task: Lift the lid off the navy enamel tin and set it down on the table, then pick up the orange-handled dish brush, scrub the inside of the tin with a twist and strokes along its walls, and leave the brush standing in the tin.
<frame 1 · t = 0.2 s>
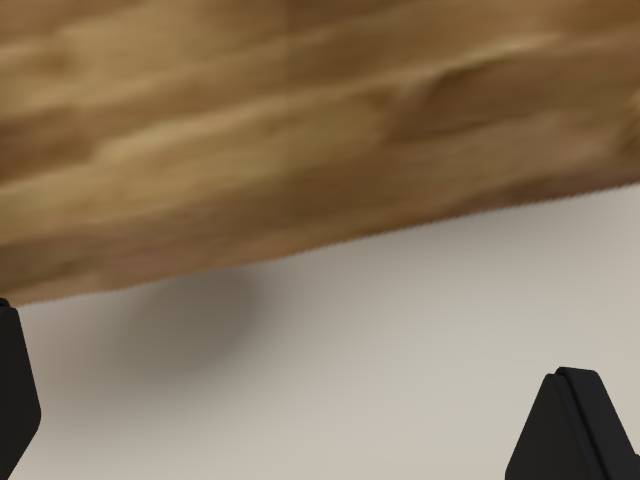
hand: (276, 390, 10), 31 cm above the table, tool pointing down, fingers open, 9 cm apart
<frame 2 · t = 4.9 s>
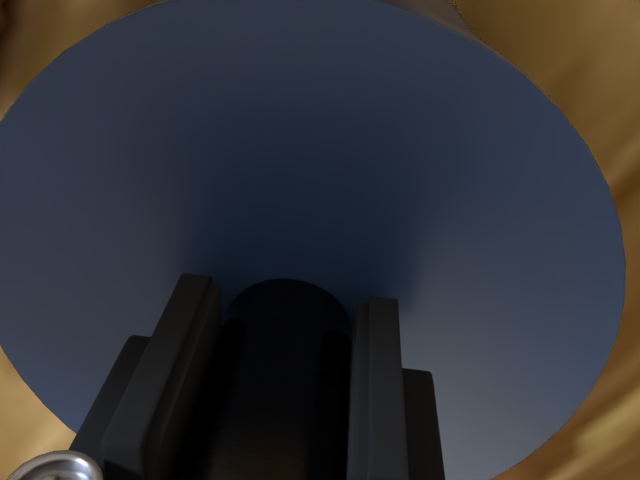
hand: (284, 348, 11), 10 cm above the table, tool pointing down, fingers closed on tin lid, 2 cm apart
tin lid: (292, 310, 12), point 9 cm above the table, touching gripper, tin
tin: (322, 145, 20), on the table
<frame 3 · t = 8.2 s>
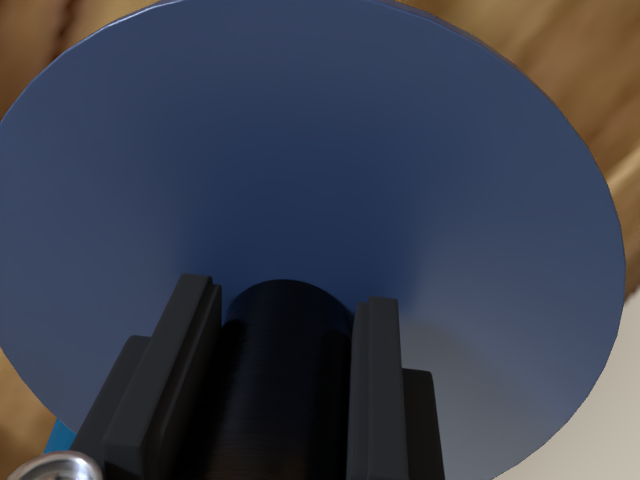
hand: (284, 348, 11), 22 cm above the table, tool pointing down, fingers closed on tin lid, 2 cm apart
tin lid: (292, 311, 12), point 20 cm above the table, touching gripper
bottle: (177, 305, 39), on the table
when the fingers open (2 cm above the table, at t = 11.9 s): tin lid stays where it is, point 1 cm above the table.
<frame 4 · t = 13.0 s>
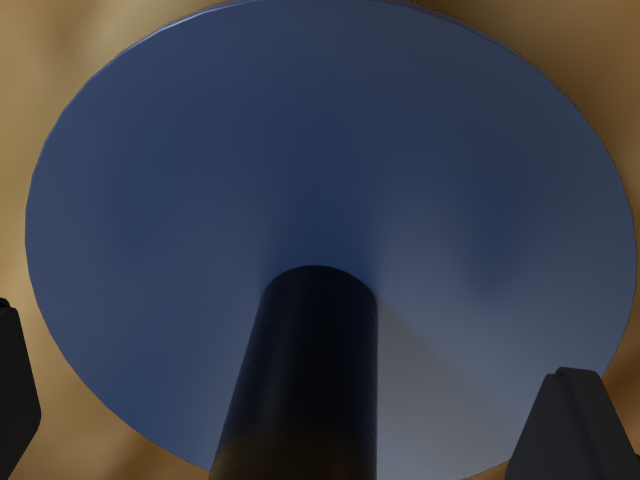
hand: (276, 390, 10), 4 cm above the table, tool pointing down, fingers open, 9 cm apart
tin lid: (321, 296, 13), point 1 cm above the table
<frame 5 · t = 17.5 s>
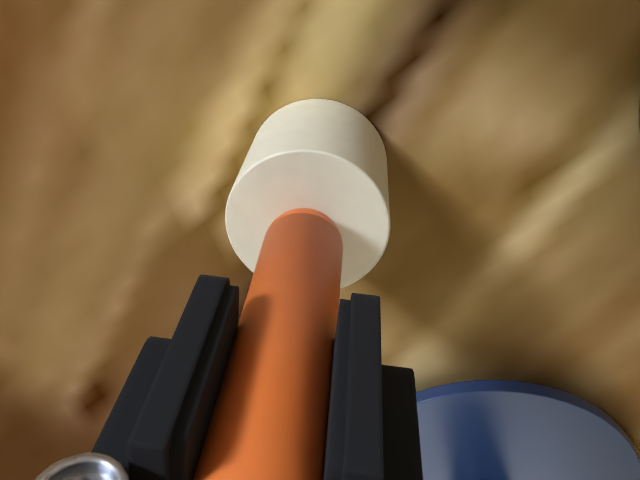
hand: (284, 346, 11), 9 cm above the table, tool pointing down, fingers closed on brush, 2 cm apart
brush: (318, 164, 19), on the table, touching gripper
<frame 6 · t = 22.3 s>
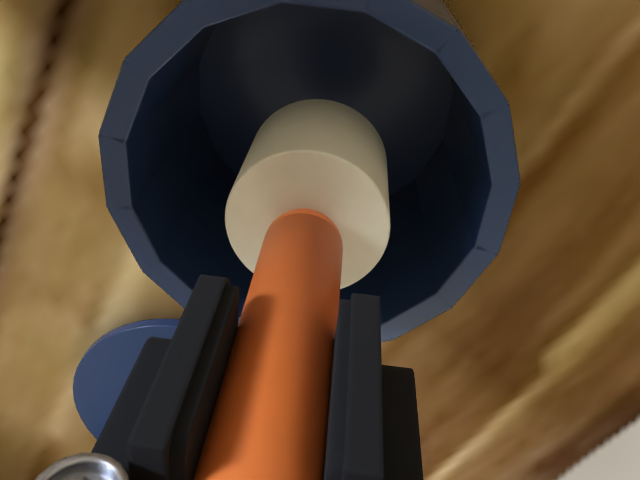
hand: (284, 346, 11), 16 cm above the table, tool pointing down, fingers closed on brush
tin lid: (186, 404, 34), point 1 cm above the table
tin: (324, 97, 25), on the table
brush: (318, 164, 19), point 7 cm above the table, touching gripper
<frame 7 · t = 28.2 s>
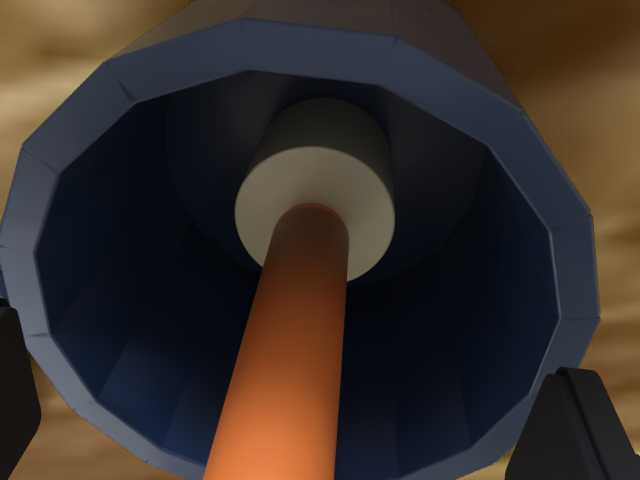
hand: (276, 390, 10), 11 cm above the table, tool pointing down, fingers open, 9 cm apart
tin: (323, 153, 20), on the table
brush: (324, 161, 19), point 1 cm above the table, touching tin
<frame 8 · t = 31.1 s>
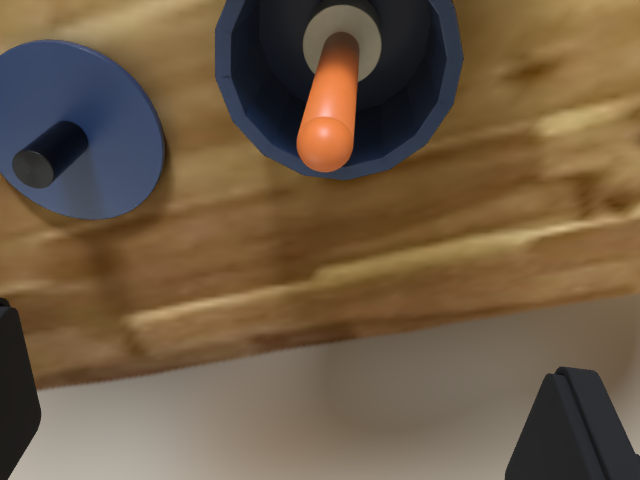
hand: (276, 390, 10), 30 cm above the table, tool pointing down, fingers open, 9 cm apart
tin lid: (73, 135, 41), point 1 cm above the table
tin: (343, 27, 36), on the table
brush: (344, 30, 36), point 1 cm above the table, touching tin
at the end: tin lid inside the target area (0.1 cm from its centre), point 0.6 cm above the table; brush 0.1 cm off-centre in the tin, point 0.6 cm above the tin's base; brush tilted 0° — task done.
